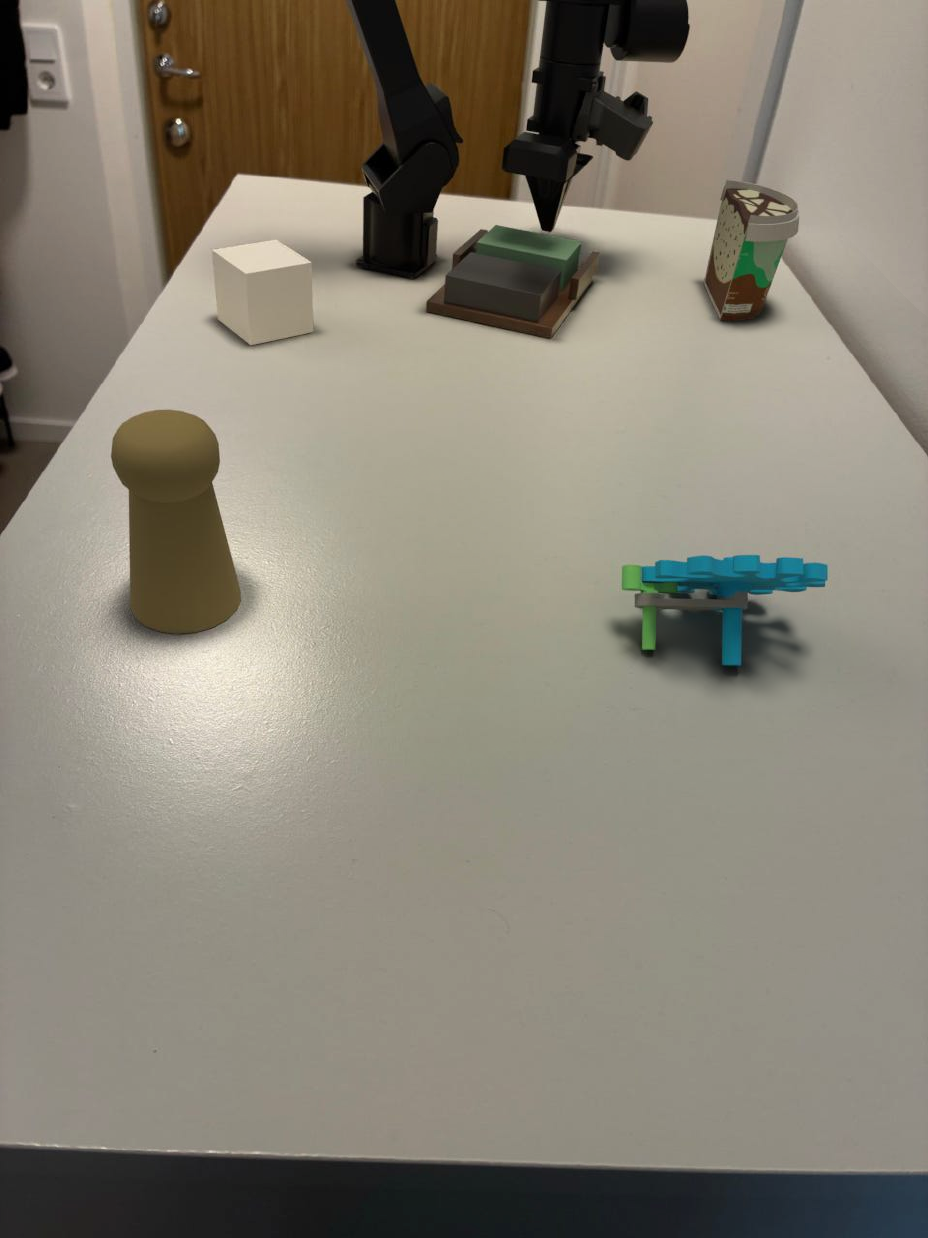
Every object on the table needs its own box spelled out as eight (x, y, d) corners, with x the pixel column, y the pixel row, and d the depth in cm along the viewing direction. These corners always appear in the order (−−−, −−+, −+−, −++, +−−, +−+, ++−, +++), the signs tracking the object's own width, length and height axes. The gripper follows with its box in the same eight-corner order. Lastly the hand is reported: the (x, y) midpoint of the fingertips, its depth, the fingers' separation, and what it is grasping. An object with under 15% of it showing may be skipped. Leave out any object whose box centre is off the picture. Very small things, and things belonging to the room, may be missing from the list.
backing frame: (478, 258, 99) (481, 223, 97) (594, 281, 97) (600, 246, 94) (422, 310, 87) (424, 272, 85) (554, 339, 85) (559, 301, 82)
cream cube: (313, 332, 82) (312, 262, 78) (250, 345, 79) (245, 273, 75) (279, 307, 85) (276, 239, 82) (217, 319, 82) (211, 249, 79)
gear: (805, 573, 57) (851, 543, 47) (805, 672, 56) (852, 662, 46) (618, 570, 58) (626, 540, 48) (616, 666, 58) (623, 656, 48)
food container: (786, 331, 90) (820, 223, 84) (723, 326, 90) (751, 217, 84) (758, 284, 100) (787, 183, 93) (700, 278, 100) (725, 177, 93)
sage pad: (492, 254, 97) (495, 224, 96) (577, 271, 96) (582, 241, 94) (474, 273, 93) (476, 241, 91) (562, 291, 91) (567, 259, 89)
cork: (186, 648, 50) (160, 468, 43) (106, 604, 52) (68, 426, 45) (263, 592, 54) (251, 419, 47) (185, 553, 56) (162, 383, 49)
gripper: (635, 89, 80) (603, 274, 90) (672, 56, 94) (640, 220, 104) (509, 68, 82) (491, 251, 92) (563, 40, 96) (542, 202, 106)
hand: (547, 230), depth 98 cm, fingers closed
